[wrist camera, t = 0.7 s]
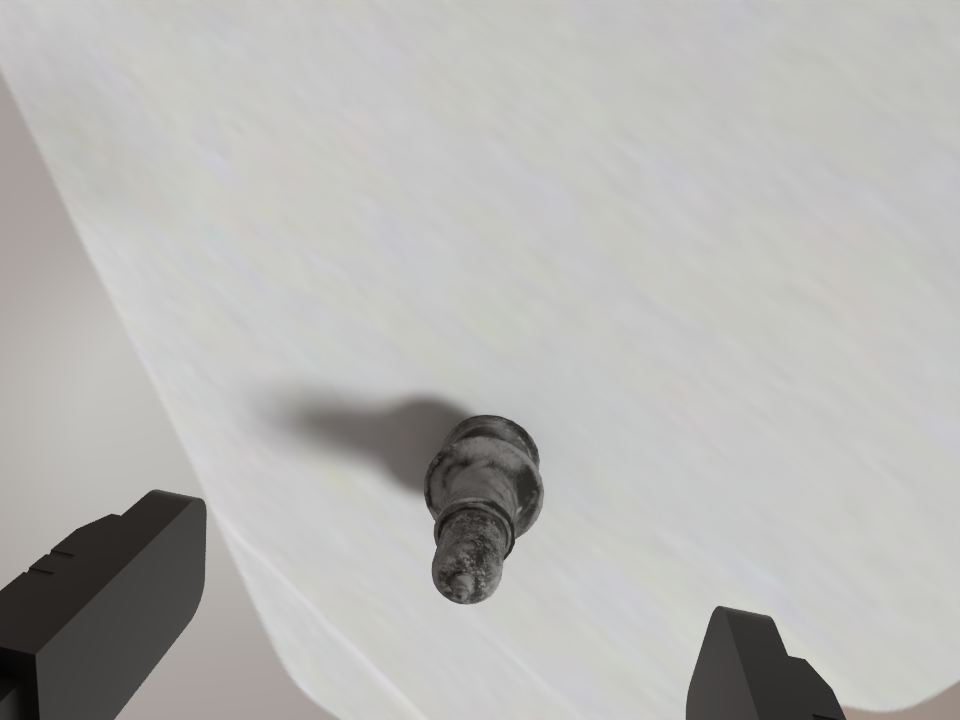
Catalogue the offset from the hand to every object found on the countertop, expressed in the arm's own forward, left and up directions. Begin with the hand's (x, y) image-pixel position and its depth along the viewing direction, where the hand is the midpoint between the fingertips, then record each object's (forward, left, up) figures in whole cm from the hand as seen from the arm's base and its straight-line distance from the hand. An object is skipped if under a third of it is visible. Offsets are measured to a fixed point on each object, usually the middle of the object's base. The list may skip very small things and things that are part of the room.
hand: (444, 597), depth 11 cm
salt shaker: (+8, +5, -25) cm, 27 cm away
